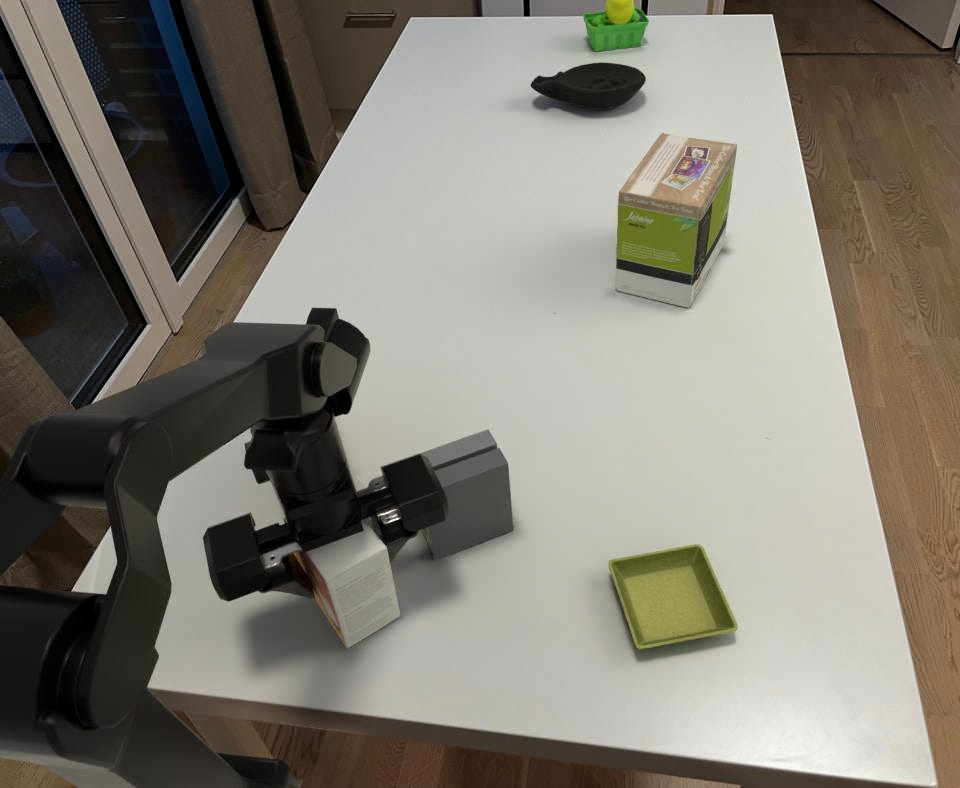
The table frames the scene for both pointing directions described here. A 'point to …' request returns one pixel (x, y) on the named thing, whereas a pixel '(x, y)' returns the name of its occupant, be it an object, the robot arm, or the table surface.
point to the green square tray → (671, 596)
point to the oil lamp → (592, 85)
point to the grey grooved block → (470, 493)
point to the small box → (353, 584)
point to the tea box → (673, 218)
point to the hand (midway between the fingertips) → (348, 580)
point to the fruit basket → (616, 26)
